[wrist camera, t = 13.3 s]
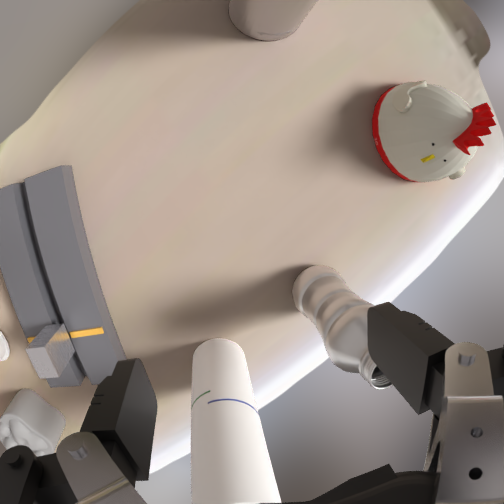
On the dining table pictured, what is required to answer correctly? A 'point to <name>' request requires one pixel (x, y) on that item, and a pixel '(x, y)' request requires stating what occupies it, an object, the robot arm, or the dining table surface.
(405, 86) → the kitchen timer
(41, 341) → the fader knob
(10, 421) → the lumpy-topped squat cylinder
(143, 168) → the dining table surface
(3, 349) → the downlight
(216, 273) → the dining table surface
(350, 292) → the plastic bottle
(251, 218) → the dining table surface
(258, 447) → the cylindrical container
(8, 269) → the fader console
